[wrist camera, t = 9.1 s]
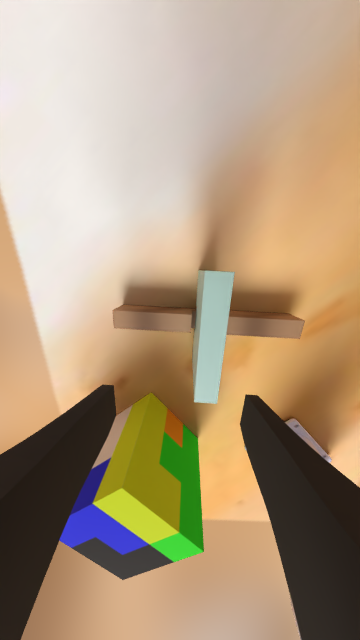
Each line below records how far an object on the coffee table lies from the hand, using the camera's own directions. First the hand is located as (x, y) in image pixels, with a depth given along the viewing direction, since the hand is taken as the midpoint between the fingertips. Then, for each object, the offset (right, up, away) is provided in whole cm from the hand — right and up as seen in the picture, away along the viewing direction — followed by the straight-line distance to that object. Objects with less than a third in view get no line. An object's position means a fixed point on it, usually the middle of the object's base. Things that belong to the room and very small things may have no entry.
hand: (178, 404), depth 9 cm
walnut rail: (+3, +5, +9) cm, 11 cm away
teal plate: (+3, +5, +9) cm, 11 cm away
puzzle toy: (-4, -11, +15) cm, 19 cm away
